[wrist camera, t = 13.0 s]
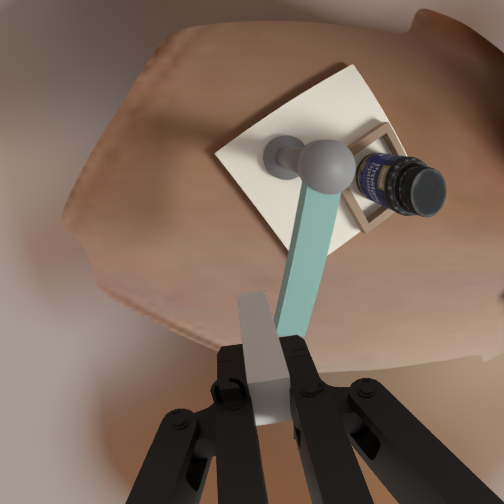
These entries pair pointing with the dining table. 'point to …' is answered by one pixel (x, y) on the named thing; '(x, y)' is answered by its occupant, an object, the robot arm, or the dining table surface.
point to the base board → (300, 134)
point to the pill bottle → (401, 184)
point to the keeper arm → (312, 230)
